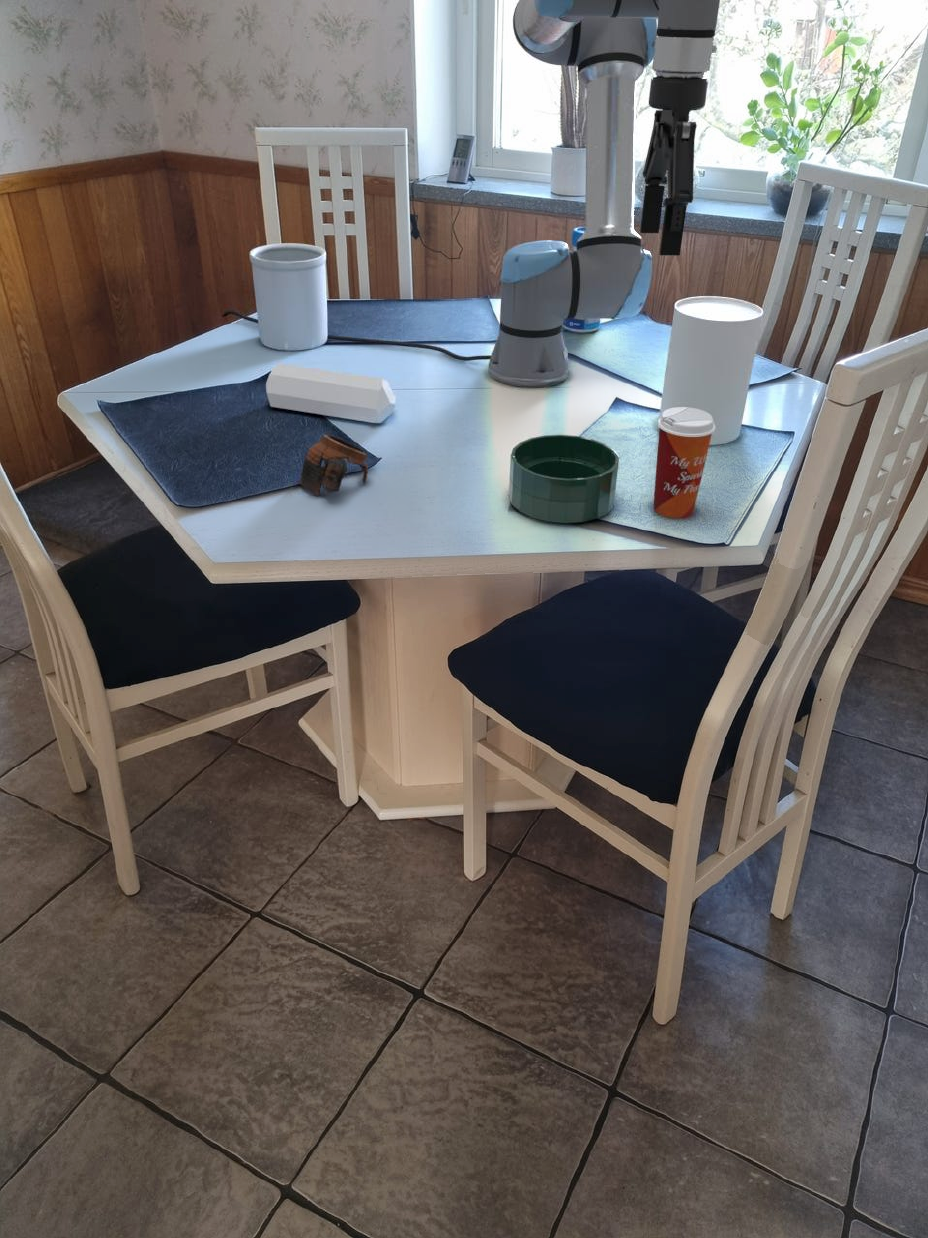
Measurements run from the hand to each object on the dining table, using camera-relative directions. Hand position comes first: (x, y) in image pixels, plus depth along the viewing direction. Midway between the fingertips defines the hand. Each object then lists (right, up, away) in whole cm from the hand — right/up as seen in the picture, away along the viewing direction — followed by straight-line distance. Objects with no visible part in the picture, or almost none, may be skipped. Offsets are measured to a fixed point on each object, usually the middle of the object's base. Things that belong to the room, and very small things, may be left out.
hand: (658, 243), depth 136 cm
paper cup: (+2, -39, -3) cm, 39 cm away
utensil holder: (-63, +3, +57) cm, 85 cm away
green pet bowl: (-14, -38, -1) cm, 40 cm away
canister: (+11, -23, +22) cm, 33 cm away
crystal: (-51, -19, +26) cm, 60 cm away
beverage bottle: (-3, +9, +67) cm, 68 cm away
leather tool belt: (-47, -35, +2) cm, 59 cm away
